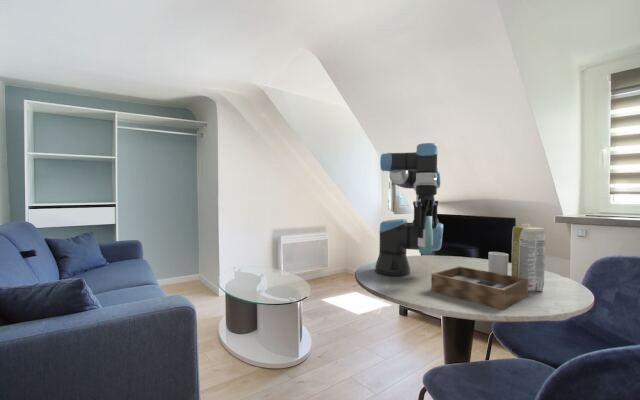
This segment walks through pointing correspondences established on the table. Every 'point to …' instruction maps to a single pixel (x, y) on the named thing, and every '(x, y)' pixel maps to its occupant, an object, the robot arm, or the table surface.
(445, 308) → the table surface
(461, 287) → the crate
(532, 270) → the juice carton
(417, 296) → the table surface
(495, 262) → the mug
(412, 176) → the robot arm
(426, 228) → the peg
